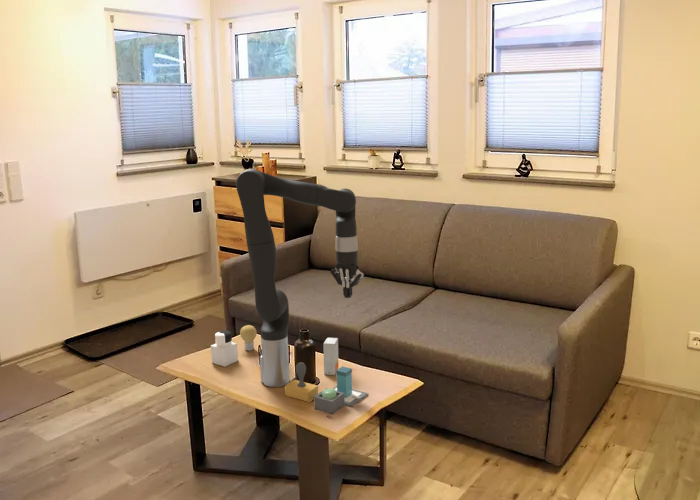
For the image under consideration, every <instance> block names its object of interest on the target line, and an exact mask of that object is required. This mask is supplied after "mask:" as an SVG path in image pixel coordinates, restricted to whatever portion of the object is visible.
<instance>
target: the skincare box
mask: <svg viewBox="0 0 700 500" xmlns="http://www.w3.org/2000/svg"><path fill="white" fill-rule="evenodd" d="M322 344H323V345H322V346H323V348H322V349H323V375H330V376H331V375H332V376H335V375H337V374H336V370H338V369H339V338H338V337H327V338H326V339H325V341H324V342H323V343H322Z"/></svg>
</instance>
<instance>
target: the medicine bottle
mask: <svg viewBox="0 0 700 500" xmlns="http://www.w3.org/2000/svg"><path fill="white" fill-rule="evenodd" d="M214 339H215V343H213V344H211V345H210V353H211V354H210V355H211V363H212V364H215V365H217V366H221V367H224V368H225V367H227V366H230V365H232V364H234V363H236V362H238V361H239V354H238V343H236V342H233V341H232V340H233V339H232V332H231V331H230V330H226V329H225V330H219V331H217V332H216V333H215V334H214Z"/></svg>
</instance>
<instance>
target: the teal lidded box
mask: <svg viewBox="0 0 700 500" xmlns="http://www.w3.org/2000/svg"><path fill="white" fill-rule="evenodd" d="M335 375H336V386H337V391H339V392H342V393H344V397H345V398H347V397H348V396H350V395H351V394H352V389H353V376H352V375H353V368H350V367H347V366H340V367H338V370H336V374H335Z"/></svg>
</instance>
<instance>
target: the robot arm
mask: <svg viewBox="0 0 700 500" xmlns="http://www.w3.org/2000/svg"><path fill="white" fill-rule="evenodd" d="M235 188H236V193H237V195H238V198H239V202H240V205H241V210H242V213H243V222H244V233H245V239H246V245H247V252H248V253H247V254H248V257H249V263H250V268H251V273H252V279H253V286H254V288H253V289H254V301H255V302H254V303H255V311H256V314H257V315H258V316H259V318H260V319H262V320H263V321H262V326H261V327H260V343H261V344H260V345H261V346H260V347H261V355H260V356H259V366H260V367H259V369H260V382H261V383H263V385H265V386H266V387H270V388H279V387H280V388H281V387H283V386H284V387H285V386H286V385H287V384H289V383H290V382H291V381H290V357H289V339H288V337H289V336H288V329H289V324H290V305H289V300H288V299H289V298H288V296H287V295H286V293H285V292H284V291H283V290H280V289H277V287H276V282H275V281H276V280H275V278H276V277H275V275H276V266H277V248H276V247H277V246H276V241H275V237H274V232H273V228H272V225H271V223H270V220H269V218H268V215H267V212H266V206H265V196H274V197H280V198H283V199H288V200H290V201H294V202H296V203H300V204H305V205H310V206H315V207H322V208H326V209H329V210H331V211H335V240H334V241H335V242H334V245H335V247H334V248H335V262H336V264H335V267H334V268H333V269H331V270H330V274H331V275H332V277H333V278H334V280H335V282H337V284H338V286H340V285H341V286H342V292H343V293H342V294H343V296H344V297H343V298H346V299H350V298H352V296H353V287H355V286H357V285H358V284H359V283H360V282H361V280H362V279H363V277H364V276H365V273H364V272H363V271H360V270H359V266H358V265H359V264H358V262H359V251H358V250H359V249H358V247H359V245H358V244H359V243H358V237H357V236H358V235H357V234H358V232H357V221H356V206H357V205H356V203H357V199H356V194H355V193H354V192H353V190H351V189H349V188H342V189H334V188H329V187H327V186H325V185H321V184H317V183H312V182H311V183H310V182H305V181H298V180H293V179H286V178H282V177H279V176H274V175H272V174H269V173H266V172H264V171H260V170H258V169H255V168H248V169H244V170H243V171H241V172H240V173H239V174H238V176H237V178H236V181H235Z"/></svg>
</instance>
